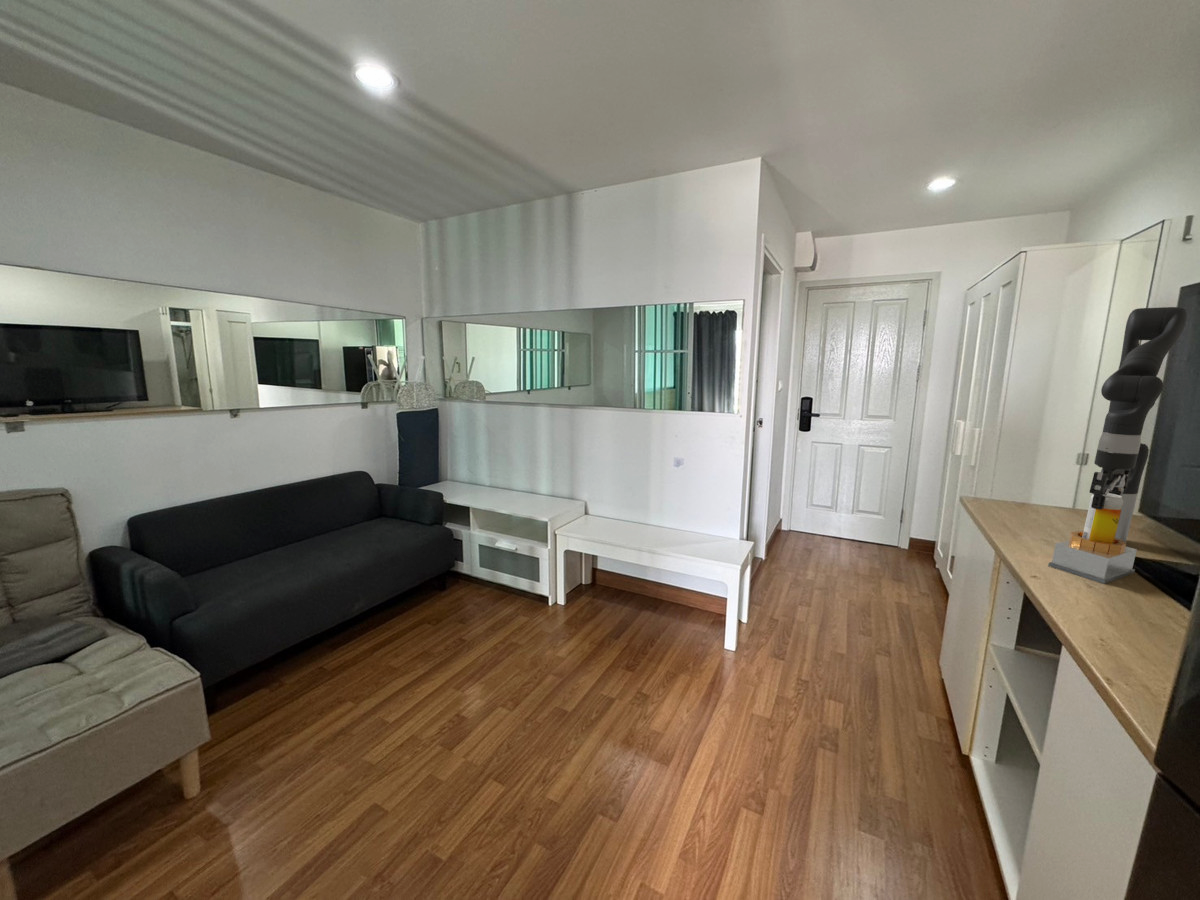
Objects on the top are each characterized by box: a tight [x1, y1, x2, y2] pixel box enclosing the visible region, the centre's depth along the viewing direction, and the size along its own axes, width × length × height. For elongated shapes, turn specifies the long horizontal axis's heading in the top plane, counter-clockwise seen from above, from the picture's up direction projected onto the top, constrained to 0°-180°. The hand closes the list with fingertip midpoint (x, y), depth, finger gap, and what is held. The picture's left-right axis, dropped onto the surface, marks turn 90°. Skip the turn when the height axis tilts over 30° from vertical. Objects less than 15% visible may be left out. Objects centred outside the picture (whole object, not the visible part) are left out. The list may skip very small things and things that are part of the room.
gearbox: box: [1047, 530, 1138, 585], centre depth 132 cm, size 21×12×10 cm, turn 113°
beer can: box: [1082, 493, 1123, 544], centre depth 129 cm, size 6×6×15 cm
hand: (1104, 506), depth 128 cm, fingers open, 8 cm apart
